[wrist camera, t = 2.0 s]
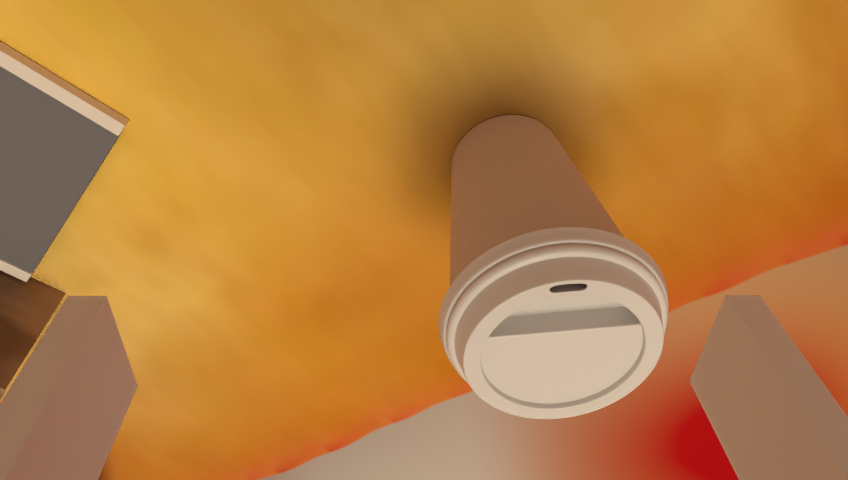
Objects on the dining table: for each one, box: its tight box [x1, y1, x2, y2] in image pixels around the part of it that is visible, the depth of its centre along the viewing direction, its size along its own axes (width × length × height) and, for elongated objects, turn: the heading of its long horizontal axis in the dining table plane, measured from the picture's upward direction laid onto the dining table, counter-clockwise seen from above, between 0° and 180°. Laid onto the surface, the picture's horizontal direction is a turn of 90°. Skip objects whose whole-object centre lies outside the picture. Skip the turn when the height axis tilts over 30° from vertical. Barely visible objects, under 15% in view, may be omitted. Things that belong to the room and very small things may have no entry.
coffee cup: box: [439, 115, 668, 419], centre depth 31 cm, size 10×10×15 cm
